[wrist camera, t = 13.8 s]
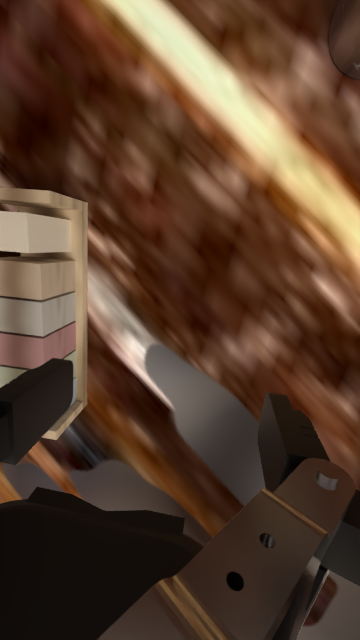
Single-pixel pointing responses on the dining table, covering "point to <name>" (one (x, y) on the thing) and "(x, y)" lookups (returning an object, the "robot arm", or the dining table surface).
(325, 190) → the dining table surface
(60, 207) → the pastel slab stack
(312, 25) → the dining table surface
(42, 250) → the cream block
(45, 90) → the dining table surface
